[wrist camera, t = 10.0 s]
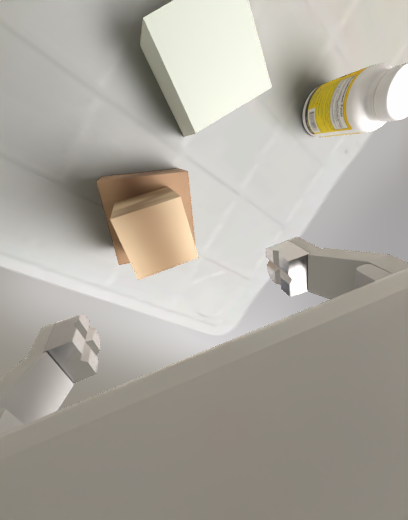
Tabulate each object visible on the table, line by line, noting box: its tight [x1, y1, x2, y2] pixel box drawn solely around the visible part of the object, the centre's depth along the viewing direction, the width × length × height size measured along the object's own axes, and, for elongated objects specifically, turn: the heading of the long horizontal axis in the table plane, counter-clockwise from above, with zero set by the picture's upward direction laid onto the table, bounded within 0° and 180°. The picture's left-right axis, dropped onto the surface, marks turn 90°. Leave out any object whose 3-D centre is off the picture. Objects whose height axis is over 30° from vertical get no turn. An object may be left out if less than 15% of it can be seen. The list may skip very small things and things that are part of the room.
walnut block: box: [96, 169, 196, 265], centre depth 24 cm, size 8×8×5 cm
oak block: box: [110, 186, 199, 280], centre depth 19 cm, size 5×5×6 cm
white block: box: [140, 0, 272, 137], centre depth 21 cm, size 8×8×5 cm
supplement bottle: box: [303, 63, 408, 137], centre depth 23 cm, size 5×5×10 cm
